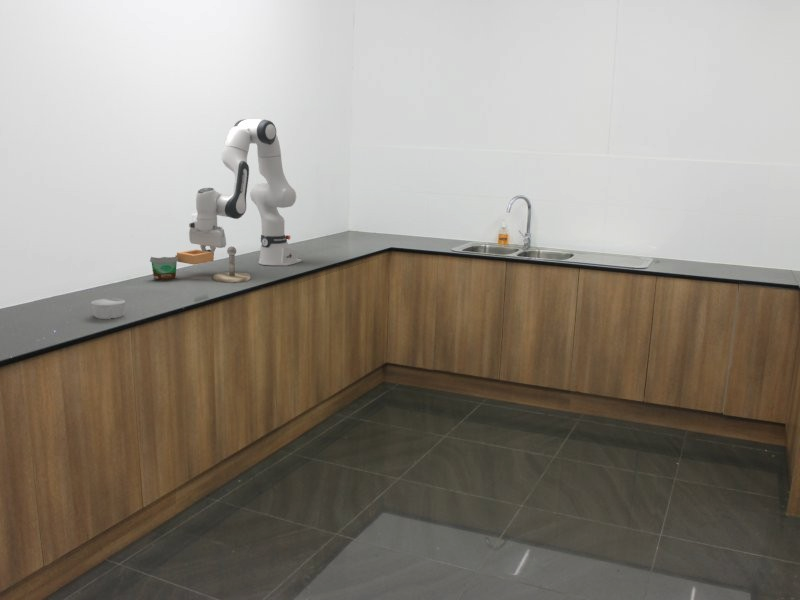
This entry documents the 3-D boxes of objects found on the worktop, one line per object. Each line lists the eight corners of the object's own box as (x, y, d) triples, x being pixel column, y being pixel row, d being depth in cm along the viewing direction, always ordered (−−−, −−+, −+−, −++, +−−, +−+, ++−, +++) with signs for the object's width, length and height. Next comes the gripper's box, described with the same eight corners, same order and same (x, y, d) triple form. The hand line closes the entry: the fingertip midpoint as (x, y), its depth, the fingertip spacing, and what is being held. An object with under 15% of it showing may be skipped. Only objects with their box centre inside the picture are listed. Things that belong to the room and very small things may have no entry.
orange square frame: (194, 264, 337) (193, 255, 336) (177, 261, 343) (176, 252, 342) (220, 259, 349) (220, 251, 348) (203, 257, 355) (203, 248, 354)
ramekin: (130, 313, 278) (129, 298, 276) (120, 320, 267) (119, 305, 266) (98, 312, 277) (97, 297, 276) (86, 319, 266) (86, 304, 265)
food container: (156, 282, 332) (155, 259, 330) (150, 279, 336) (149, 256, 334) (183, 279, 340) (183, 256, 337) (177, 277, 344) (177, 254, 342)
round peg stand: (232, 274, 355) (232, 242, 352) (258, 278, 346) (258, 246, 343) (205, 279, 342) (205, 246, 339) (231, 284, 333) (231, 250, 330)
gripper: (228, 226, 344) (229, 257, 347) (197, 222, 355) (198, 252, 358) (218, 227, 339) (219, 259, 342) (186, 223, 350) (187, 253, 353)
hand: (208, 255), depth 350 cm, fingers closed on orange square frame, 3 cm apart
